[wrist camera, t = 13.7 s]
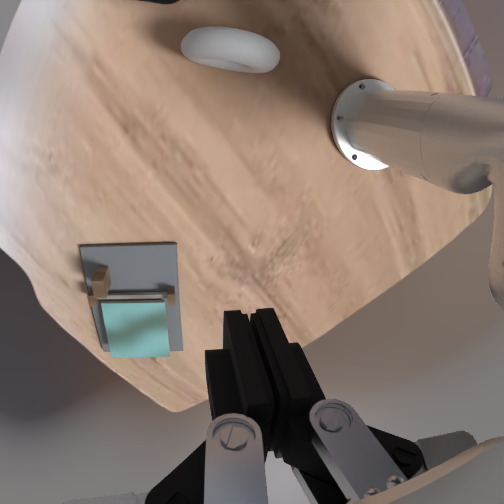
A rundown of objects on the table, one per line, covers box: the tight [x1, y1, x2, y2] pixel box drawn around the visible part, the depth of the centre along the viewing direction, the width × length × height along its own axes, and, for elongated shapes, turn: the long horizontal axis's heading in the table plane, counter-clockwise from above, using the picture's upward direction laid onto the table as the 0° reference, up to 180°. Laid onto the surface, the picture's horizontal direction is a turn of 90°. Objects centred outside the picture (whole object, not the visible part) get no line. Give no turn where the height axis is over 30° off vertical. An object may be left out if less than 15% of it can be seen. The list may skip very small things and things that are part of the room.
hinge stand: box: [88, 266, 176, 307], centre depth 39 cm, size 5×12×4 cm, turn 86°
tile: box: [101, 300, 170, 357], centre depth 42 cm, size 9×9×1 cm
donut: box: [181, 26, 280, 73], centre depth 27 cm, size 10×4×10 cm, turn 78°
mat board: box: [80, 243, 183, 352], centre depth 42 cm, size 18×13×1 cm
